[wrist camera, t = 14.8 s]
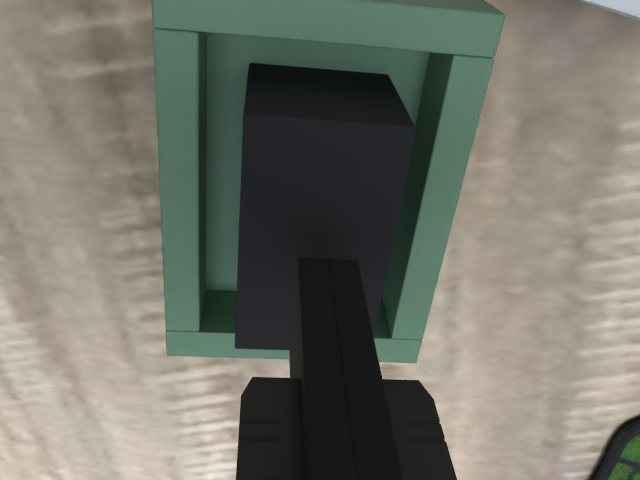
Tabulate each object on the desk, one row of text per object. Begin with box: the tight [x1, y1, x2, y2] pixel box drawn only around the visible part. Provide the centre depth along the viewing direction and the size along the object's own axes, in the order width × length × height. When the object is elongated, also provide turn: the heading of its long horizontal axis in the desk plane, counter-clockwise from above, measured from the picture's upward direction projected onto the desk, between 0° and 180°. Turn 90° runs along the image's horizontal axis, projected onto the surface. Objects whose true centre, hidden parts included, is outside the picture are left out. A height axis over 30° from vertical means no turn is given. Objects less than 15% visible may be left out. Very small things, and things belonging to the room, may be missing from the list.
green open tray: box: [152, 0, 505, 363], centre depth 21 cm, size 13×9×3 cm
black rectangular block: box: [235, 63, 416, 350], centre depth 20 cm, size 8×4×4 cm, turn 174°
